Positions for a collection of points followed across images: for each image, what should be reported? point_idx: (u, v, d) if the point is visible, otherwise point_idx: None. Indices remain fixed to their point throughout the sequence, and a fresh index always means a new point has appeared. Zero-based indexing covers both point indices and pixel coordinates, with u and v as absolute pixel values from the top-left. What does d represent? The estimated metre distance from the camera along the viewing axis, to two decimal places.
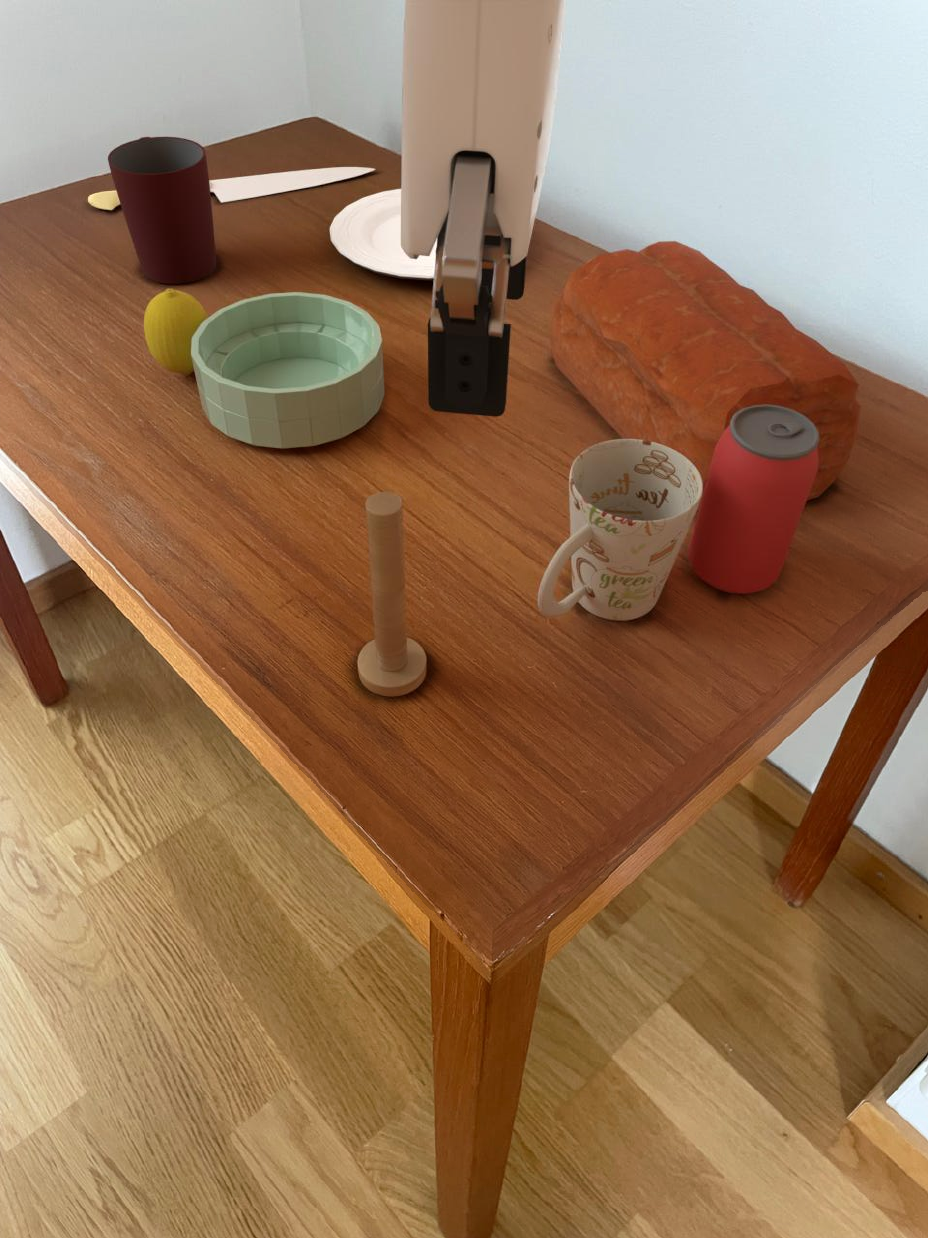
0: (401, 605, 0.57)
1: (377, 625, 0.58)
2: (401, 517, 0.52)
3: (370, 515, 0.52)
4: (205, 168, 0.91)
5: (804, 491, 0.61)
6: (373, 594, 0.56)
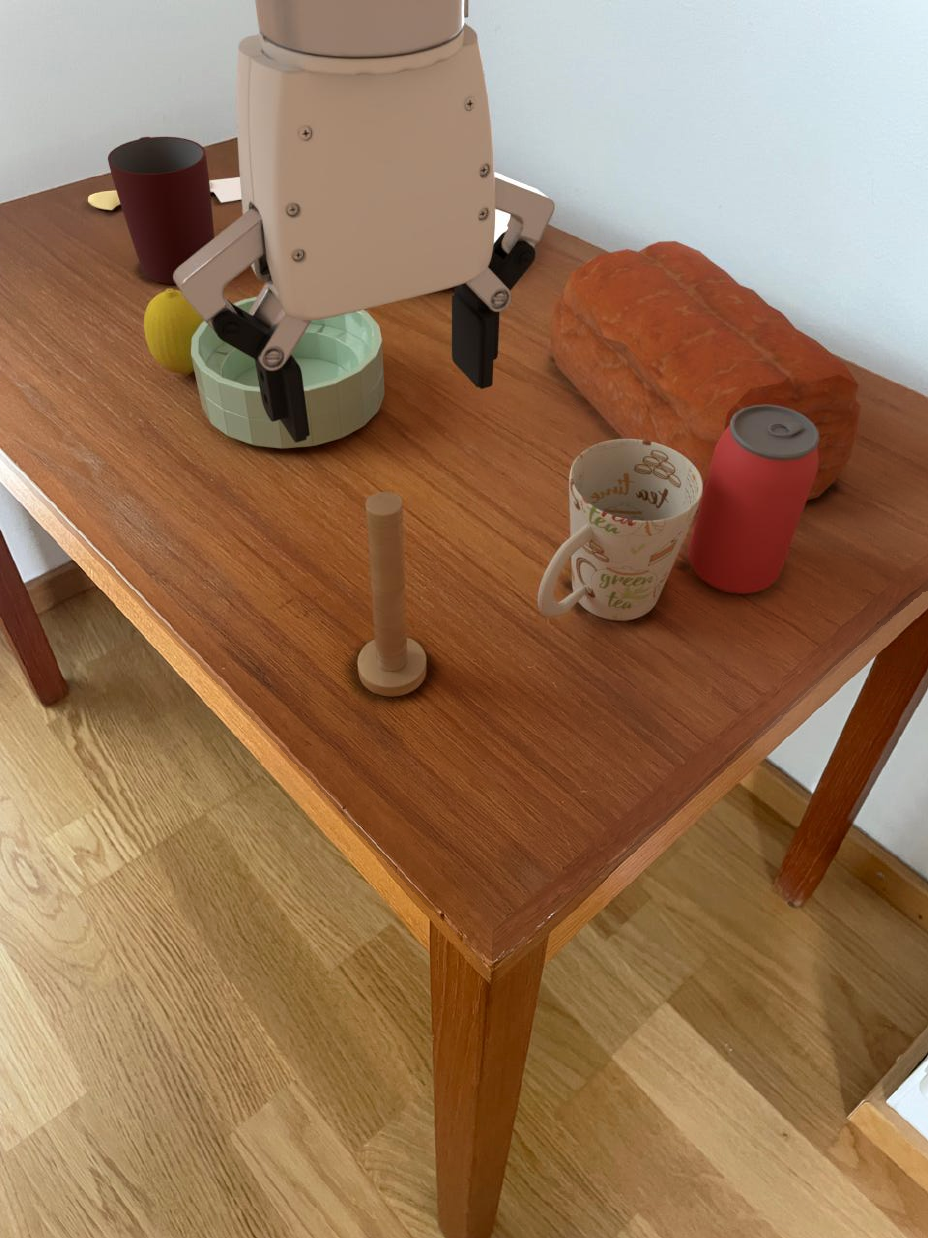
0: (401, 605, 0.57)
1: (377, 625, 0.58)
2: (401, 517, 0.52)
3: (370, 515, 0.52)
4: (205, 168, 0.91)
5: (804, 491, 0.61)
6: (373, 594, 0.56)
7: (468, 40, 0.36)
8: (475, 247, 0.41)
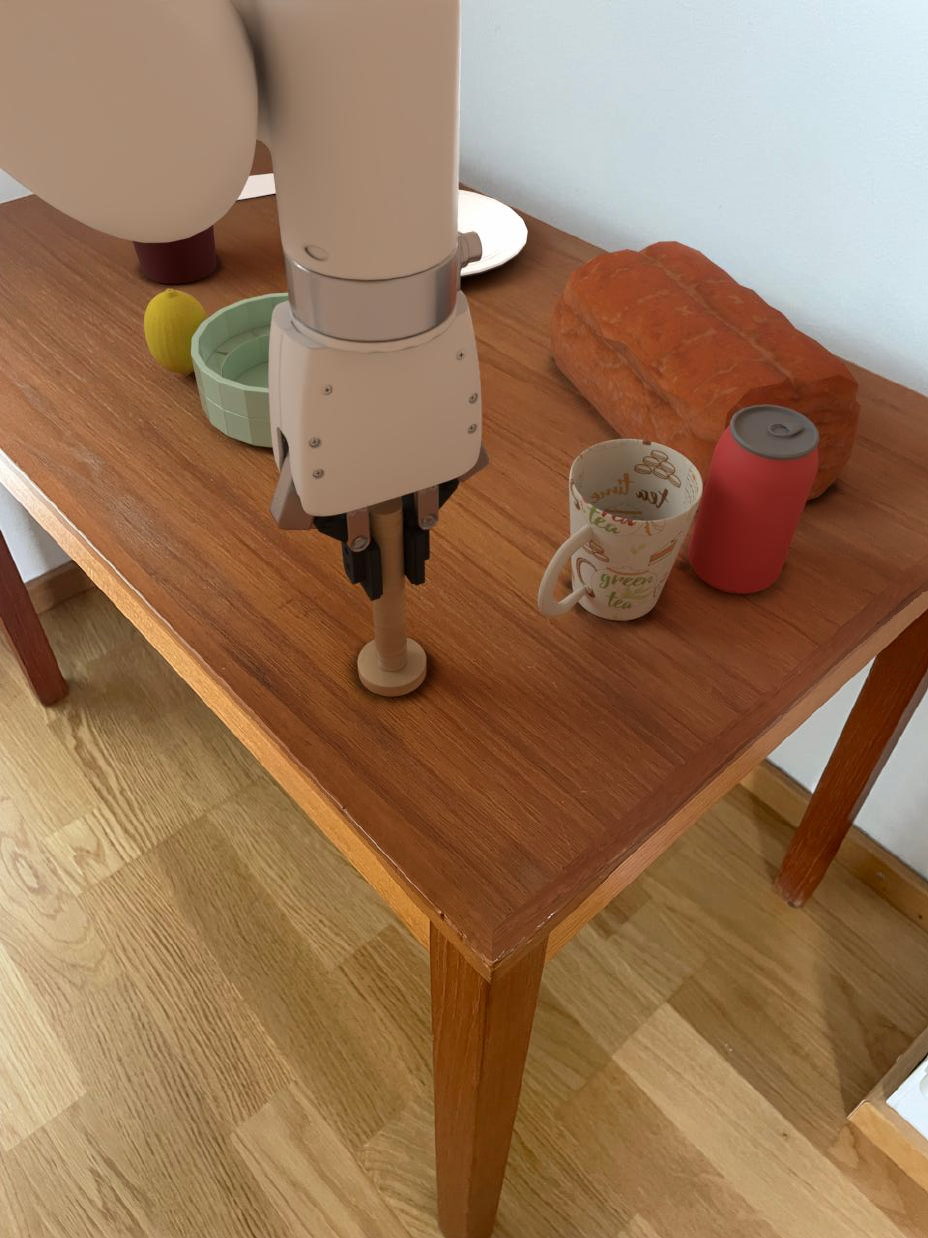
0: (401, 605, 0.57)
1: (377, 625, 0.58)
2: (401, 517, 0.52)
3: (370, 515, 0.52)
4: None
5: (804, 491, 0.61)
6: None
7: (460, 309, 0.44)
8: (465, 452, 0.49)
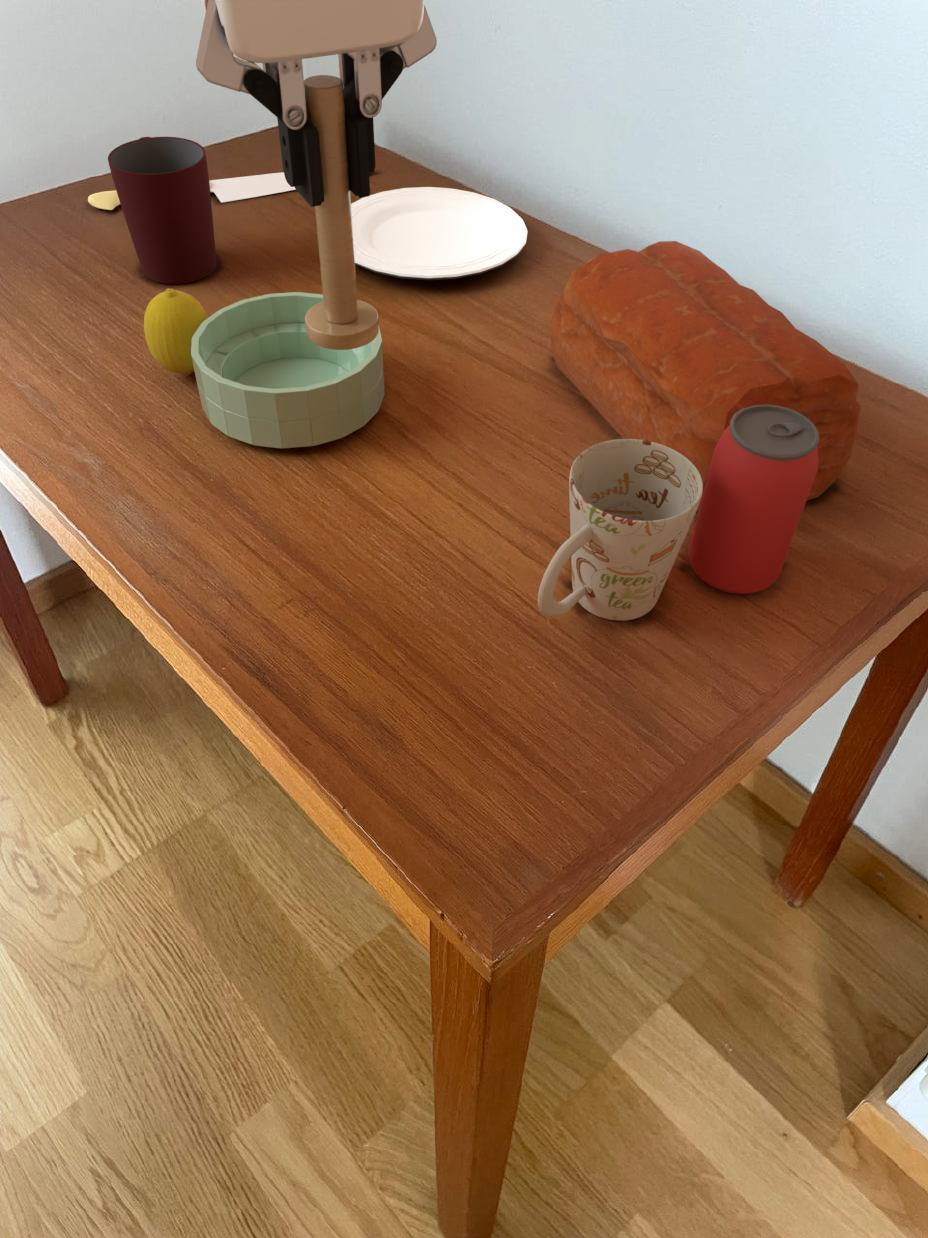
0: (347, 229, 0.54)
1: (322, 257, 0.55)
2: (341, 99, 0.49)
3: (307, 91, 0.48)
4: (205, 168, 0.91)
5: (804, 491, 0.61)
6: (316, 212, 0.53)
7: None
8: (405, 3, 0.46)
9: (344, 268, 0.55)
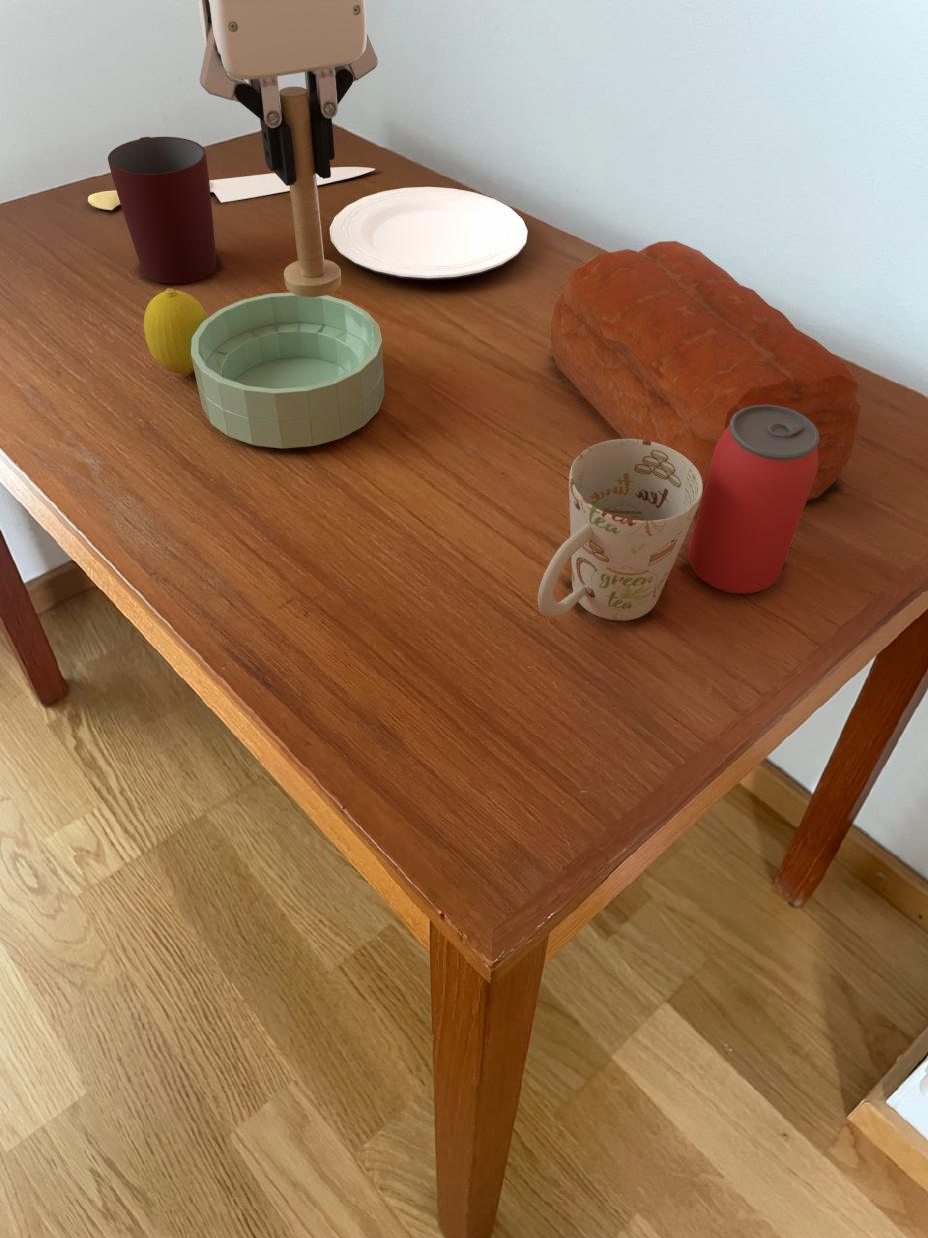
0: (314, 202, 0.71)
1: (296, 225, 0.72)
2: (307, 104, 0.66)
3: (282, 99, 0.65)
4: (205, 168, 0.91)
5: (804, 491, 0.61)
6: (291, 190, 0.70)
7: None
8: (352, 34, 0.63)
9: (313, 233, 0.72)
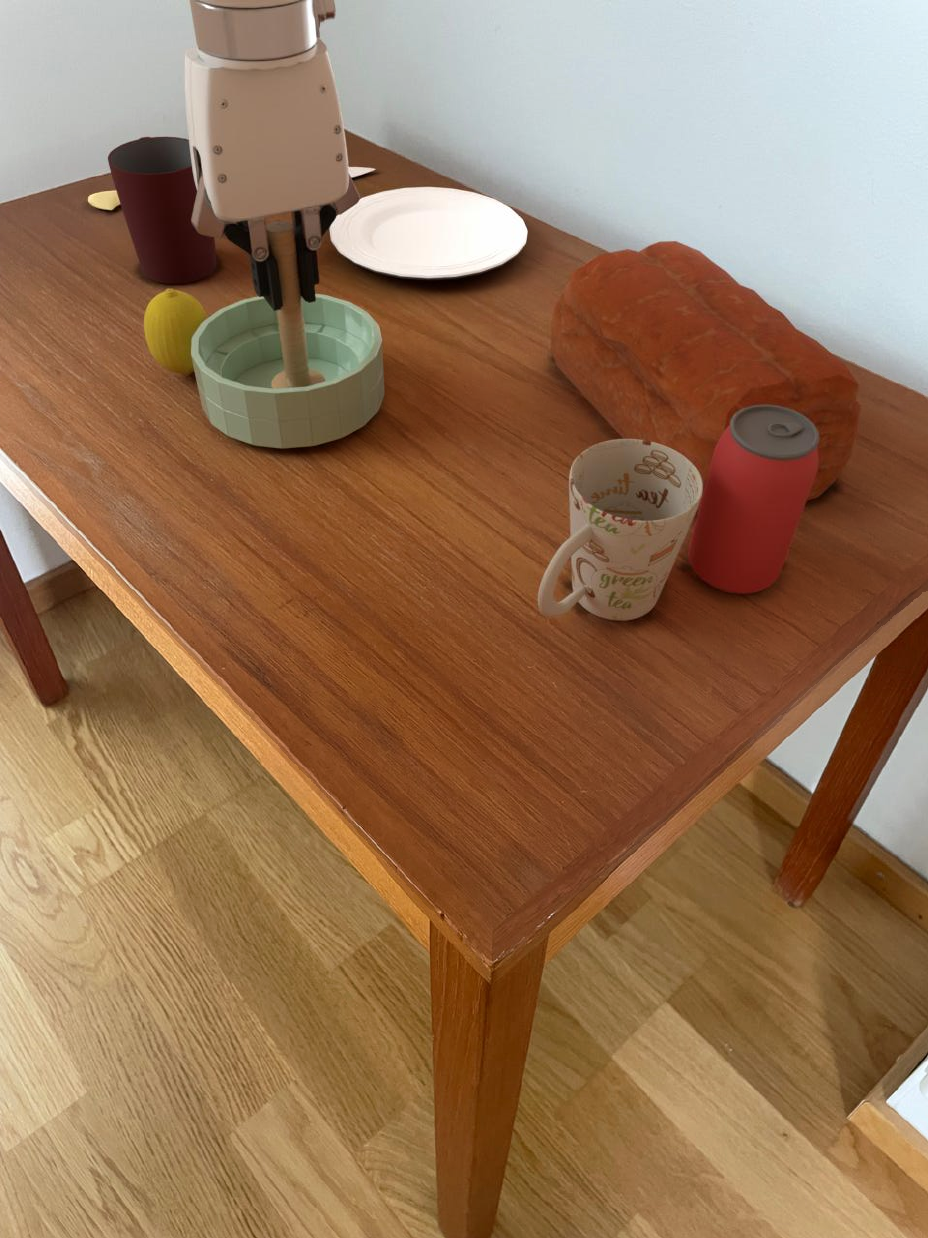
0: (300, 323, 0.75)
1: (283, 342, 0.76)
2: (293, 238, 0.70)
3: (269, 234, 0.69)
4: None
5: (804, 491, 0.61)
6: (278, 312, 0.74)
7: (320, 51, 0.61)
8: (335, 178, 0.67)
9: (299, 350, 0.76)
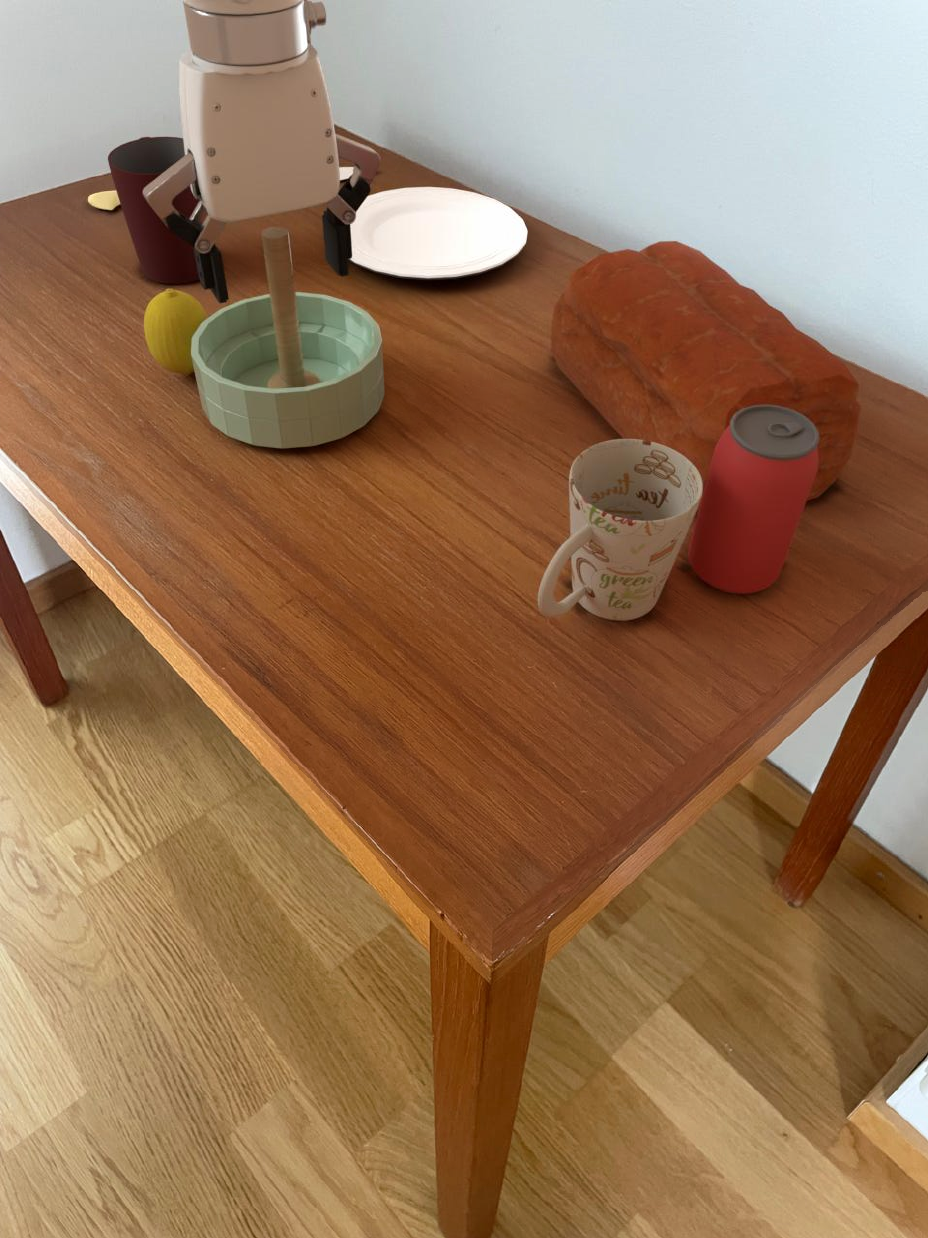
0: (295, 326, 0.77)
1: (278, 345, 0.78)
2: (288, 244, 0.72)
3: (264, 240, 0.71)
4: None
5: (804, 491, 0.61)
6: (273, 315, 0.76)
7: (311, 56, 0.63)
8: (326, 180, 0.69)
9: (294, 352, 0.78)
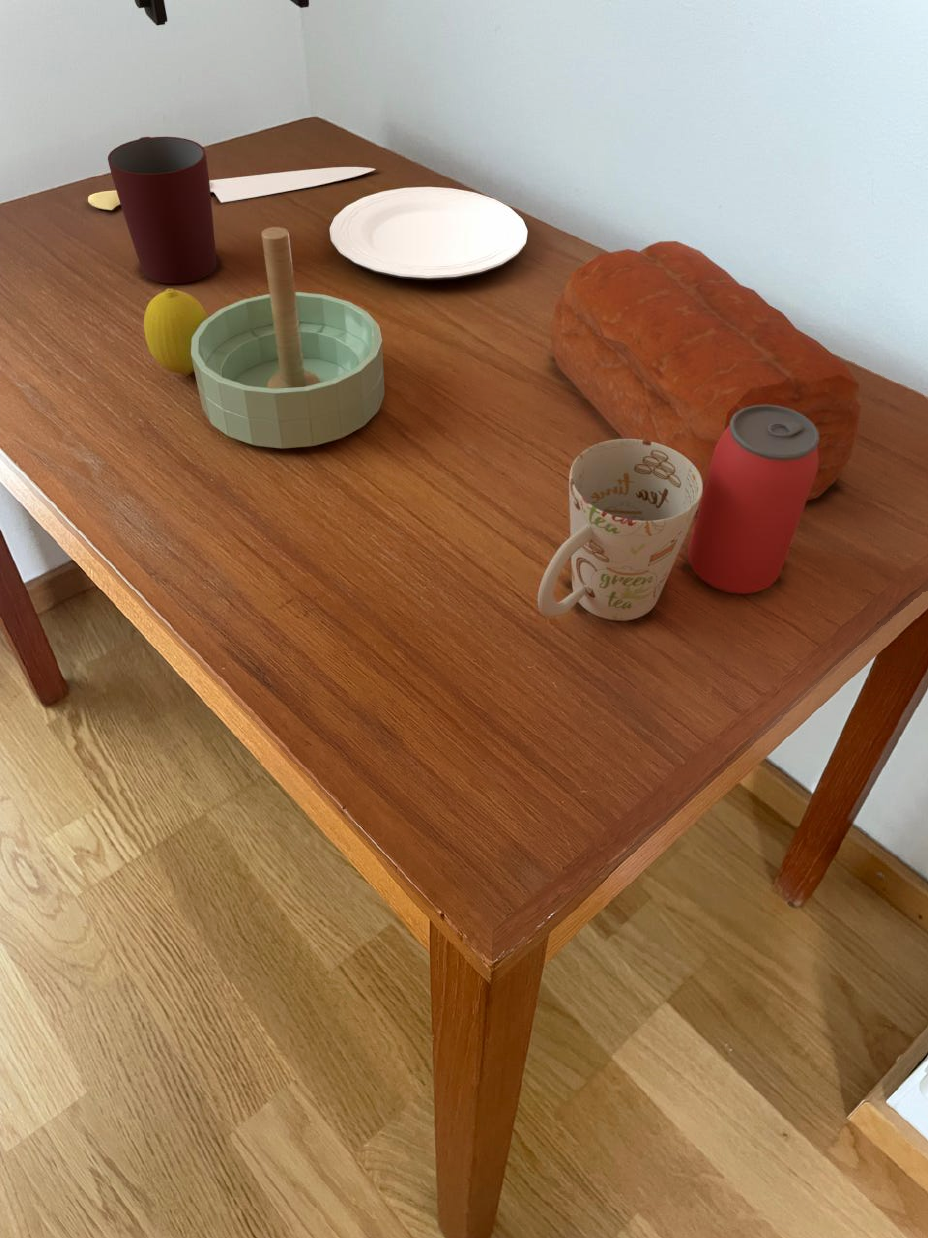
0: (295, 326, 0.77)
1: (278, 345, 0.78)
2: (288, 244, 0.72)
3: (264, 240, 0.71)
4: (205, 168, 0.91)
5: (804, 491, 0.61)
6: (273, 315, 0.76)
7: None
8: None
9: (294, 352, 0.78)
